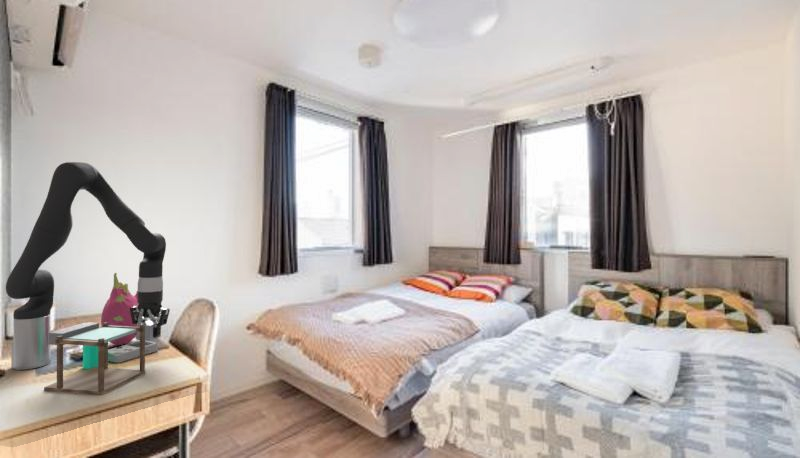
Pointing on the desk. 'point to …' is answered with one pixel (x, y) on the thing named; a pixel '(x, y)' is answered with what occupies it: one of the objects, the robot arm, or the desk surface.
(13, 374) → the desk surface
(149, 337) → the grey rectangular block
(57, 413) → the desk surface
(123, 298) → the pink dragon fruit
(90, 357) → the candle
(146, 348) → the handheld gaming device
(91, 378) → the frame
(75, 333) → the trapdoor
